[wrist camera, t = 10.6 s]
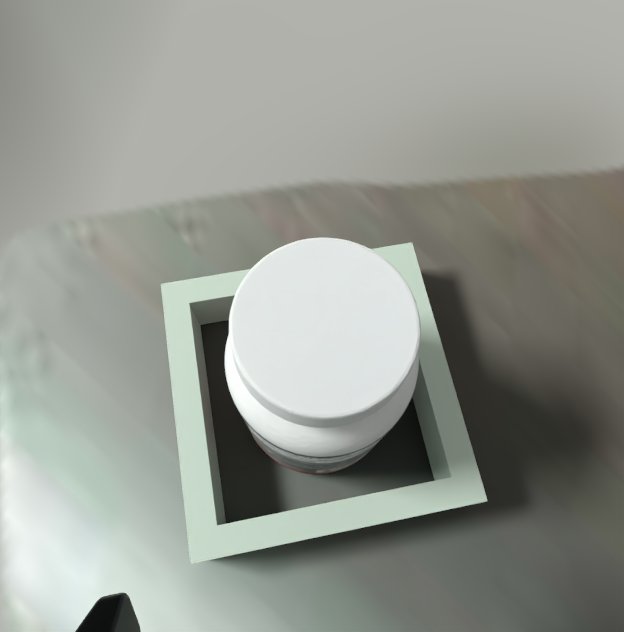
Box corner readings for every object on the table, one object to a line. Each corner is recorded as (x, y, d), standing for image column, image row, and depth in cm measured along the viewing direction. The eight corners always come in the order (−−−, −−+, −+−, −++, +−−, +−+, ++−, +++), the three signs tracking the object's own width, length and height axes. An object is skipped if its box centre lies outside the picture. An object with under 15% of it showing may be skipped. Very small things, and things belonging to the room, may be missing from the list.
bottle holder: (467, 503, 21) (487, 501, 19) (203, 559, 20) (190, 563, 18) (401, 269, 25) (411, 242, 22) (174, 307, 24) (160, 284, 21)
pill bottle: (272, 322, 24) (254, 191, 14) (399, 359, 23) (466, 249, 14) (225, 451, 22) (170, 397, 12) (364, 495, 21) (415, 474, 12)
